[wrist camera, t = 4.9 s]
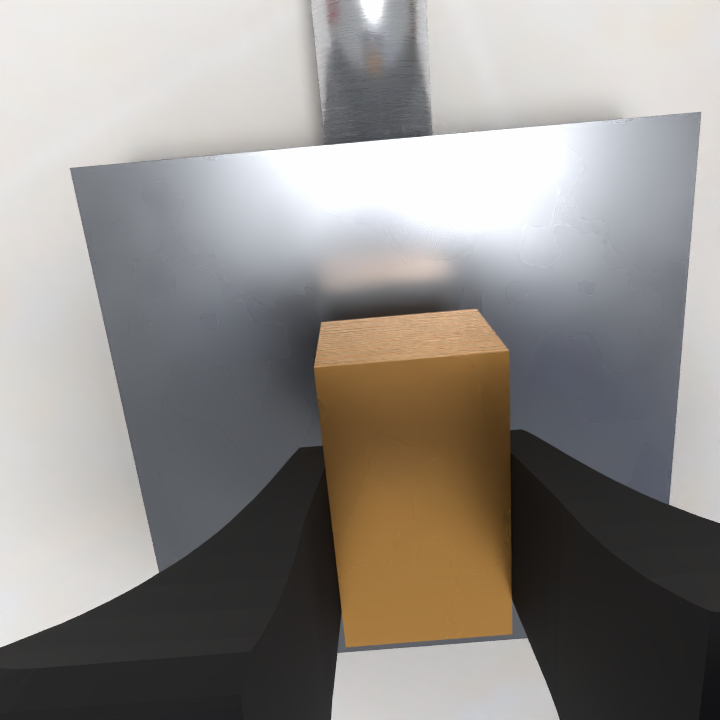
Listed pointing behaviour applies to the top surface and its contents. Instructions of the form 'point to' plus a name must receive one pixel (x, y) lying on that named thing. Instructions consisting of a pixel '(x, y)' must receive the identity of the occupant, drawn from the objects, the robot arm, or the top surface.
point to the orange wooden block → (418, 475)
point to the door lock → (389, 276)
